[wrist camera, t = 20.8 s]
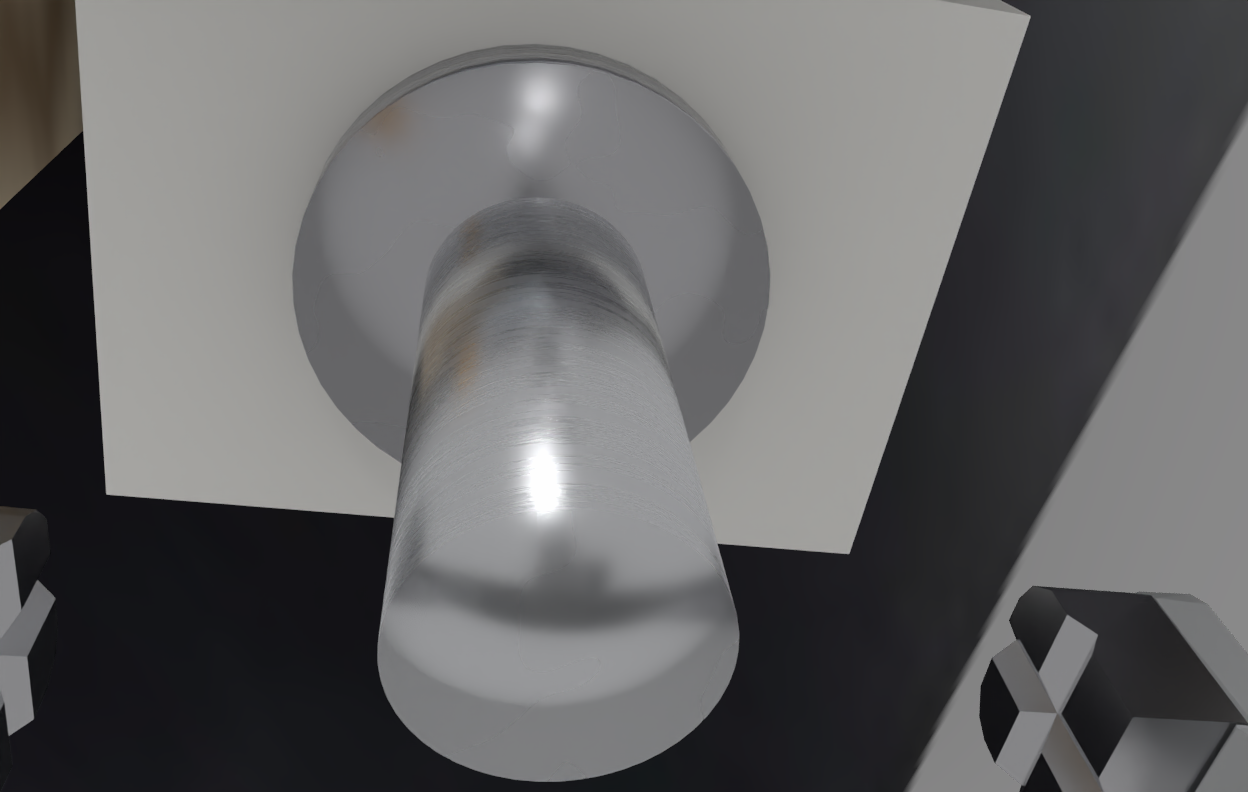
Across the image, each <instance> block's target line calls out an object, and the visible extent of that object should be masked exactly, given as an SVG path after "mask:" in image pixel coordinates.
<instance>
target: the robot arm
mask: <svg viewBox="0 0 1248 792" xmlns="http://www.w3.org/2000/svg"><path fill="white" fill-rule="evenodd" d="M50 554H51V549H50V542H49V536H48V529H47V522H46V518H45V517H44V516H43V515H42V514H40V513H39V512H38V511H37V510H34V509H24V508H13V507H3V506H0V791H1V789H2V787H3V785H4V783H5V781H6V779H7V776H8V774H9V772H10V770H11V768H12V759H11V751H10V743H9V736H10V735H11V734H12V733H14V732H15V731H17V730H18V729H20V728H21V727H23V726H24V725H26V724H27V723H29V722H30V721H32V720H33V719H34V718H35V716H36V713H37V711H38V709H39V707H40V704H41V702H42V700H43V697H44V695H45V693H46V691H47V688H48V683H49V679H50V675H51V671H52V667H53V663H54V659H55V654H56V645H57V628H58V619H57V608H56V598H55V597H54V596H53V595H52V594H51V593H50V592H49V591H48V590H47V589H46V588H45V587H44V586H43V585H42V584H41V583H40V582H39V581H38V580H37V579H38V578H39V576H40V574H41V572H42V570H43V568H44V566H45V564H46V562H47V560H48V558H49V556H50ZM1009 621H1010V624H1011V627H1012V629H1013V632H1014V634H1015V637H1016V641H1014V642H1013V643H1012V644H1010V645H1009V646H1008V647H1006V648H1005V649H1003V650H1002V651H1001V652H999V653H998V654H997V655H995V656H994V657H993V658H992V660H991V662H990V664H989V667H988V669H987V672H986V674H985V677H984V680H983V682H982V685H981V694H980V715H979V716H980V721H981V726H982V730H983V735H984V740H985V742H986V744H987V746H988V749H989V751H990V753H991V755H992V757H993V760H994V762H995V764H997V765H998V766H999V767H1000V768H1001V769H1003V770H1004V771H1005V772H1006V773H1007V774H1009V775H1010V776H1011V777H1012V778H1014V779H1015V780H1016V781H1017V782H1018V783H1020V784H1021V789H1020V792H1248V654H1247V652H1246V651H1245V650H1244V649H1243V648H1242V646H1241V645H1240V644H1239V642H1238V641H1237V640H1236V639H1235V637H1234V636H1233V635H1232V634H1231V633H1230V631H1229V630H1228V629H1227V628H1226V626H1225V625H1224V624H1223V623H1222V621H1220V619H1219V618H1218V616H1217V615H1216V614H1215V613H1214V611H1213V610H1212V609H1211V608H1210V607H1209V605H1208V604H1206V603H1205V602H1203V601H1201V600H1199V599H1198V598H1196V597H1194V596H1192V595H1190V594H1174V593H1153V592H1137V593H1125V592H1110V591H1097V590H1082V589H1068V588H1053V587H1039V586H1032V587H1031V588H1030V589H1029V590H1028V591H1027V592H1026V593H1025V594H1024V595H1023V596H1021V597H1020V598H1019V600H1018V603H1017V605H1016V607H1015V609H1014V611H1013V613H1012V615H1011V618H1010V620H1009Z"/></svg>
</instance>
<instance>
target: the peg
mask: <svg viewBox="0 0 1248 792" xmlns="http://www.w3.org/2000/svg"><path fill="white" fill-rule="evenodd" d="M292 281H293V304H294V310H295V315H296V320H297V325H298V330H299V334H300V337H301V340H302V343H303V346H304V349H305V352H306V355H307V358H308V360H309V362H310V364H311V366H312V368H313V370H314V372H315V374H316V376H317V378H318V380H319V382H320V384H321V385H322V387H323V388H324V390H325V391H326V393H327V394H328V396H329V397H330V398H331V400H332V401H333V403H334V404H335V406H336V407H337V408H338V410H339V411H340V412H341V413H342V414H343V415H344V416H345V417H346V418H347V419H348V421H349V422H350V423H351V424H352V425H353V426H354V427H355V428H356V429H357V430H358V431H359V432H360V433H361V434H363V435H364V436H365V437H366V438H367V439H368V440H370V441H371V442H372V443H373V444H374V445H375V446H377V447H378V448H379V449H381V450H382V451H384V452H385V453H387V454H388V455H390V456H391V457H393V458H394V459H396V460H397V461H399V462H400V463H401V471H400V478H399V486H398V494H397V501H396V509H395V516H394V524H393V532H392V539H391V547H390V554H389V562H388V570H387V577H386V585H385V592H384V600H383V608H382V615H381V623H380V630H379V638H378V668H379V674H380V679H381V683H382V686H383V688H384V691H385V694H386V696H387V699H388V700H389V702H390V704H391V706H392V707H393V709H394V711H395V713H396V714H397V715H398V717H399V718H400V719H401V720H402V722H403V723H404V724H405V725H406V727H407V728H408V729H409V730H410V731H411V732H412V733H413V734H414V735H416V736H417V737H418V738H419V739H420V740H421V741H422V742H423V743H425V744H426V745H428V746H429V747H430V748H432V749H433V750H435V751H436V752H437V753H439V754H441V755H443V756H445V757H447V758H448V759H450V760H452V761H454V762H456V763H458V764H461V765H463V766H466V767H468V768H471V769H473V770H476V771H480V772H483V773H487V774H490V775H493V776H498V777H504V778H509V779H514V780H525V781H536V782H559V781H570V780H580V779H586V778H591V777H597V776H602V775H606V774H609V773H613V772H616V771H620V770H623V769H626V768H628V767H631V766H634V765H636V764H639V763H641V762H644V761H646V760H648V759H650V758H652V757H654V756H656V755H658V754H660V753H662V752H663V751H665V750H666V749H668V748H669V747H671V746H673V745H674V744H676V743H677V742H679V741H680V740H681V739H683V738H684V737H685V736H686V735H688V734H689V733H690V732H691V731H693V730H694V729H695V728H696V727H697V726H698V725H699V724H700V723H701V722H702V721H703V720H704V719H705V718H706V717H707V716H708V715H709V713H710V712H711V711H712V709H713V708H714V707H715V705H716V704H717V703H718V701H719V700H720V698H721V697H722V695H723V693H724V691H725V689H726V688H727V686H728V684H729V682H730V679H731V676H732V674H733V671H734V669H735V665H736V660H737V655H738V650H739V627H738V620H737V614H736V610H735V606H734V603H733V599H732V595H731V592H730V588H729V584H728V581H727V577H726V573H725V570H724V566H723V562H722V559H721V555H720V551H719V548H718V544H717V540H716V537H715V533H714V529H713V526H712V522H711V518H710V515H709V511H708V508H707V504H706V500H705V497H704V493H703V489H702V486H701V482H700V478H699V475H698V471H697V467H696V464H695V460H694V456H693V453H692V449H691V445H690V442H691V441H692V440H693V439H694V438H695V437H696V436H697V435H698V434H699V433H700V432H701V431H703V430H704V429H705V428H706V427H707V426H708V425H709V424H710V423H711V422H712V421H713V420H714V419H715V417H716V416H717V415H718V414H719V413H720V412H721V410H722V409H723V408H724V407H725V406H726V405H727V403H728V402H729V401H730V399H731V398H732V396H733V394H734V393H735V391H736V390H737V388H738V387H739V385H740V384H741V382H742V381H743V379H744V377H745V375H746V373H747V371H748V369H749V367H750V365H751V363H752V361H753V359H754V357H755V354H756V351H757V348H758V345H759V342H760V339H761V336H762V333H763V330H764V326H765V321H766V315H767V310H768V305H769V290H770V267H769V257H768V246H767V242H766V238H765V234H764V230H763V226H762V222H761V218H760V216H759V213H758V211H757V208H756V206H755V203H754V201H753V198H752V196H751V193H750V191H749V189H748V187H747V186H746V184H745V182H744V180H743V178H742V177H741V175H740V173H739V171H738V169H737V168H736V166H735V164H734V162H733V161H732V159H731V157H730V155H729V154H728V152H727V150H726V149H725V147H724V145H723V143H722V142H721V140H720V139H719V138H718V137H717V135H716V134H715V133H714V132H713V130H712V129H711V128H710V126H709V125H708V124H707V123H706V121H705V120H704V119H703V118H702V117H701V116H700V115H699V114H698V113H697V112H696V111H695V110H694V109H693V108H692V107H691V106H690V105H689V104H688V103H687V102H685V101H684V100H683V99H682V98H681V97H680V96H678V95H677V94H676V93H674V92H673V91H672V90H670V89H669V88H667V87H666V86H665V85H663V84H662V83H660V82H659V81H658V80H656V79H654V78H653V77H651V76H649V75H647V74H645V73H643V72H641V71H639V70H637V69H636V68H634V67H632V66H630V65H628V64H625V63H622V62H620V61H617V60H614V59H611V58H609V57H606V56H603V55H601V54H597V53H593V52H588V51H584V50H579V49H575V48H570V47H564V46H553V45H541V44H523V45H502V46H497V47H491V48H486V49H480V50H475V51H469V52H466V53H463V54H460V55H457V56H454V57H451V58H448V59H445V60H442V61H439V62H437V63H435V64H433V65H431V66H429V67H427V68H425V69H422V70H420V71H418V72H416V73H414V74H412V75H410V76H409V77H407V78H406V79H404V80H403V81H401V82H400V83H398V84H397V85H395V86H394V87H392V88H391V89H389V90H388V91H386V92H385V93H383V94H382V95H381V96H380V97H379V98H378V99H377V100H376V101H375V102H373V103H372V104H371V105H370V106H369V107H368V108H367V109H366V110H364V111H363V112H362V113H361V114H360V115H359V117H358V118H357V119H356V120H355V121H354V123H353V124H352V125H351V126H350V127H349V128H348V130H347V131H346V132H345V133H344V134H343V136H342V137H341V138H340V140H339V142H338V143H337V145H336V146H335V148H334V150H333V151H332V153H331V155H330V156H329V158H328V160H327V161H326V163H325V165H324V167H323V170H322V172H321V174H320V177H319V179H318V181H317V184H316V186H315V188H314V191H313V193H312V196H311V198H310V201H309V203H308V206H307V208H306V211H305V213H304V216H303V219H302V223H301V226H300V230H299V234H298V238H297V242H296V246H295V254H294V264H293V273H292Z"/></svg>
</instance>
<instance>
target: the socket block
mask: <svg viewBox="0 0 1248 792" xmlns="http://www.w3.org/2000/svg"><path fill="white" fill-rule="evenodd" d="M82 131H83V118H82V102H81V86H80V70H79V55H78V39H77V23H76V7H75V0H0V209H1V208H2V207H3V206H4V205H5V204H6V203H7V202H8V201H9V200H10V199H11V198H12V197H14V196H15V195H16V194H17V193H18V192H19V191H20V190H21V189H22V188H23V187H24V186H25V185H26V184H27V183H28V182H29V181H30V180H31V179H32V178H34V177H35V176H36V175H37V174H38V173H39V172H40V171H41V170H42V169H43V168H44V167H45V166H46V165H47V164H48V163H49V162H50V161H51V160H52V159H53V158H55V157H56V156H57V155H58V154H59V153H60V152H61V151H62V150H63V149H64V148H65V147H66V146H67V145H68V144H69V143H70V142H71V141H72V140H73V139H75V138H76V137H77V136H78V135H79V134H80V133H81V132H82Z"/></svg>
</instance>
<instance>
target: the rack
mask: <svg viewBox="0 0 1248 792" xmlns="http://www.w3.org/2000/svg"><path fill="white" fill-rule="evenodd" d="M75 7H76V23H77V39H78V55H79V70H80V86H81V102H82V118H83V134H84V149H85V165H86V181H87V197H88V213H89V228H90V244H91V260H92V276H93V292H94V308H95V323H96V339H97V355H98V371H99V387H100V402H101V418H102V434H103V450H104V466H105V481H106V494H107V495H119V496H132V497H144V498H157V499H169V500H182V501H194V502H206V503H219V504H231V505H244V506H256V507H269V508H281V509H294V510H306V511H319V512H331V513H344V514H356V515H369V516H381V517H393V518H394V516H395V509H396V501H397V494H398V486H399V478H400V471H401V463H400V462H399V461H397V460H396V459H394V458H393V457H391V456H390V455H388V454H387V453H385V452H384V451H382V450H381V449H379V448H378V447H377V446H375V445H374V444H373V443H372V442H371V441H370V440H368V439H367V438H366V437H365V436H364V435H363V434H361V433H360V432H359V431H358V430H357V429H356V428H355V427H354V426H353V425H352V424H351V423H350V422H349V421H348V419H347V418H346V417H345V416H344V415H343V414H342V413H341V412H340V411H339V410H338V408H337V407H336V406H335V404H334V403H333V401H332V400H331V398H330V397H329V396H328V394H327V393H326V391H325V390H324V388H323V387H322V385H321V384H320V382H319V380H318V378H317V376H316V374H315V372H314V370H313V368H312V366H311V364H310V362H309V360H308V358H307V355H306V352H305V349H304V346H303V343H302V340H301V337H300V334H299V330H298V325H297V320H296V315H295V310H294V304H293V281H292V273H293V264H294V254H295V246H296V242H297V238H298V234H299V230H300V226H301V223H302V219H303V216H304V213H305V211H306V208H307V206H308V203H309V201H310V198H311V196H312V193H313V191H314V188H315V186H316V184H317V181H318V179H319V177H320V174H321V172H322V170H323V167H324V165H325V163H326V161H327V160H328V158H329V156H330V155H331V153H332V151H333V150H334V148H335V146H336V145H337V143H338V142H339V140H340V138H341V137H342V136H343V134H344V133H345V132H346V131H347V130H348V128H349V127H350V126H351V125H352V124H353V123H354V121H355V120H356V119H357V118H358V117H359V115H360V114H361V113H362V112H363V111H364V110H366V109H367V108H368V107H369V106H370V105H371V104H372V103H373V102H375V101H376V100H377V99H378V98H379V97H380V96H381V95H382V94H383V93H385V92H386V91H388V90H389V89H391V88H392V87H394V86H395V85H397V84H398V83H400V82H401V81H403V80H404V79H406V78H407V77H409V76H410V75H412V74H414V73H416V72H418V71H420V70H422V69H425V68H427V67H429V66H431V65H433V64H435V63H437V62H439V61H442V60H445V59H448V58H451V57H454V56H457V55H460V54H463V53H466V52H469V51H475V50H480V49H486V48H491V47H497V46H502V45H523V44H541V45H553V46H564V47H570V48H575V49H579V50H584V51H588V52H593V53H597V54H601V55H603V56H606V57H609V58H611V59H614V60H617V61H620V62H622V63H625V64H628V65H630V66H632V67H634V68H636V69H637V70H639V71H641V72H643V73H645V74H647V75H649V76H651V77H653V78H654V79H656V80H658V81H659V82H660V83H662V84H663V85H665V86H666V87H667V88H669V89H670V90H672V91H673V92H674V93H676V94H677V95H678V96H680V97H681V98H682V99H683V100H684V101H685V102H687V103H688V104H689V105H690V106H691V107H692V108H693V109H694V110H695V111H696V112H697V113H698V114H699V115H700V116H701V117H702V118H703V119H704V120H705V121H706V123H707V124H708V125H709V126H710V128H711V129H712V130H713V132H714V133H715V134H716V135H717V137H718V138H719V139H720V140H721V142H722V143H723V145H724V147H725V149H726V150H727V152H728V154H729V155H730V157H731V159H732V161H733V162H734V164H735V166H736V168H737V169H738V171H739V173H740V175H741V177H742V178H743V180H744V182H745V184H746V186H747V187H748V189H749V191H750V193H751V196H752V198H753V201H754V203H755V206H756V208H757V211H758V213H759V216H760V218H761V222H762V226H763V230H764V234H765V238H766V242H767V246H768V257H769V267H770V290H769V305H768V310H767V315H766V321H765V326H764V330H763V333H762V336H761V339H760V342H759V345H758V348H757V351H756V354H755V357H754V359H753V361H752V363H751V365H750V367H749V369H748V371H747V373H746V375H745V377H744V379H743V381H742V382H741V384H740V385H739V387H738V388H737V390H736V391H735V393H734V394H733V396H732V398H731V399H730V401H729V402H728V403H727V405H726V406H725V407H724V408H723V409H722V410H721V412H720V413H719V414H718V415H717V416H716V417H715V419H714V420H713V421H712V422H711V423H710V424H709V425H708V426H707V427H706V428H705V429H704V430H703V431H701V432H700V433H699V434H698V435H697V436H696V437H695V438H694V439H693V440H692V441H691V442H690V445H691V449H692V453H693V456H694V460H695V464H696V467H697V471H698V475H699V478H700V482H701V486H702V489H703V493H704V497H705V500H706V504H707V508H708V511H709V515H710V518H711V522H712V526H713V529H714V533H715V537H716V540H717V543H718V544H730V545H743V546H755V547H767V548H780V549H792V550H805V551H817V552H830V553H842V554H849V553H850V550H851V547H852V544H853V541H854V538H855V535H856V532H857V529H858V526H859V523H860V520H861V518H862V515H863V512H864V509H865V506H866V503H867V500H868V497H869V494H870V491H871V488H872V485H873V482H874V479H875V476H876V473H877V470H878V467H879V464H880V461H881V458H882V455H883V452H884V449H885V446H886V444H887V441H888V438H889V435H890V432H891V429H892V426H893V423H894V420H895V417H896V414H897V411H898V408H899V405H900V402H901V399H902V396H903V393H904V390H905V387H906V384H907V381H908V378H909V375H910V372H911V370H912V367H913V364H914V361H915V358H916V355H917V352H918V349H919V346H920V343H921V340H922V337H923V334H924V331H925V328H926V325H927V322H928V319H929V316H930V313H931V310H932V307H933V304H934V301H935V298H936V296H937V293H938V290H939V287H940V284H941V281H942V278H943V275H944V272H945V269H946V266H947V263H948V260H949V257H950V254H951V251H952V248H953V245H954V242H955V239H956V236H957V233H958V230H959V227H960V224H961V222H962V219H963V216H964V213H965V210H966V207H967V204H968V201H969V198H970V195H971V192H972V189H973V186H974V183H975V180H976V177H977V174H978V171H979V168H980V165H981V162H982V159H983V156H984V153H985V150H986V148H987V145H988V142H989V139H990V136H991V133H992V130H993V127H994V124H995V121H996V118H997V115H998V112H999V109H1000V106H1001V103H1002V100H1003V97H1004V94H1005V91H1006V88H1007V85H1008V82H1009V79H1010V76H1011V74H1012V71H1013V68H1014V65H1015V62H1016V59H1017V56H1018V53H1019V50H1020V47H1021V44H1022V41H1023V38H1024V35H1025V32H1026V29H1027V26H1028V23H1029V20H1030V17H1031V16H1030V15H1028V14H1026V13H1024V12H1022V11H1020V10H1018V9H1016V8H1014V7H1012V6H1010V5H1009V4H1007V3H1005V2H1003V1H1001V0H75Z"/></svg>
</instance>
